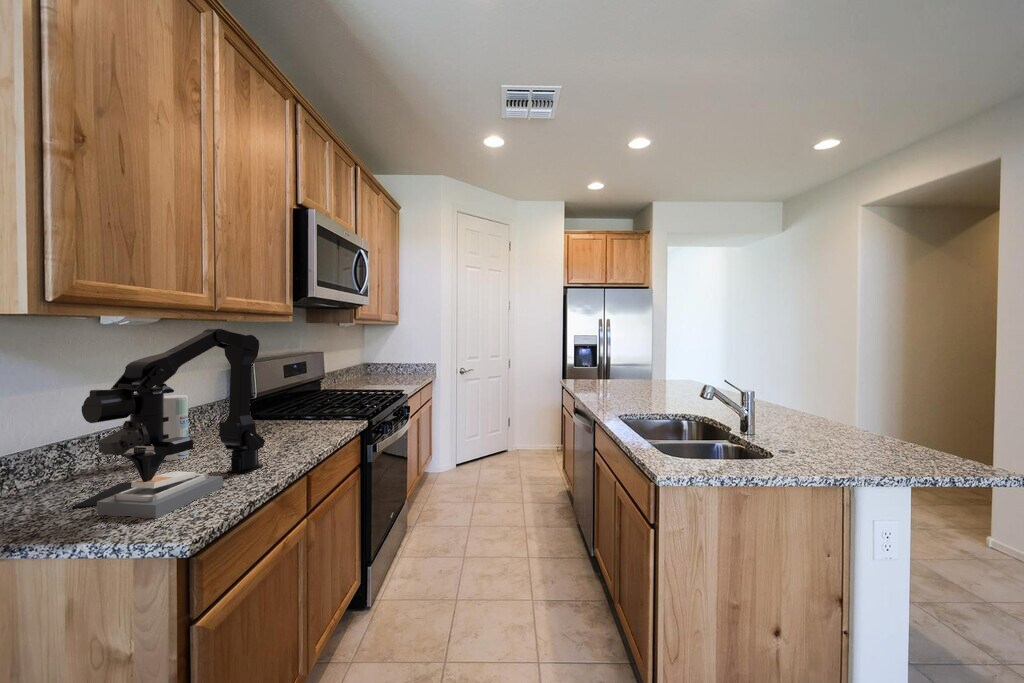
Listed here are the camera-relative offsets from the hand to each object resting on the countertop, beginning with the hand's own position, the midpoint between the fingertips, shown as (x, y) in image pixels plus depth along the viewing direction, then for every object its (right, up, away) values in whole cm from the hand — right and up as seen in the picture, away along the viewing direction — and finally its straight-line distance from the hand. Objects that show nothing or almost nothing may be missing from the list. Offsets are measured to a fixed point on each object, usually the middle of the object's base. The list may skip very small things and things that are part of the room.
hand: (147, 482), depth 91 cm
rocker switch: (0, -1, +4) cm, 4 cm away
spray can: (-24, -5, +36) cm, 44 cm away
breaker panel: (0, -6, +4) cm, 7 cm away
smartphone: (-16, -7, +8) cm, 19 cm away
